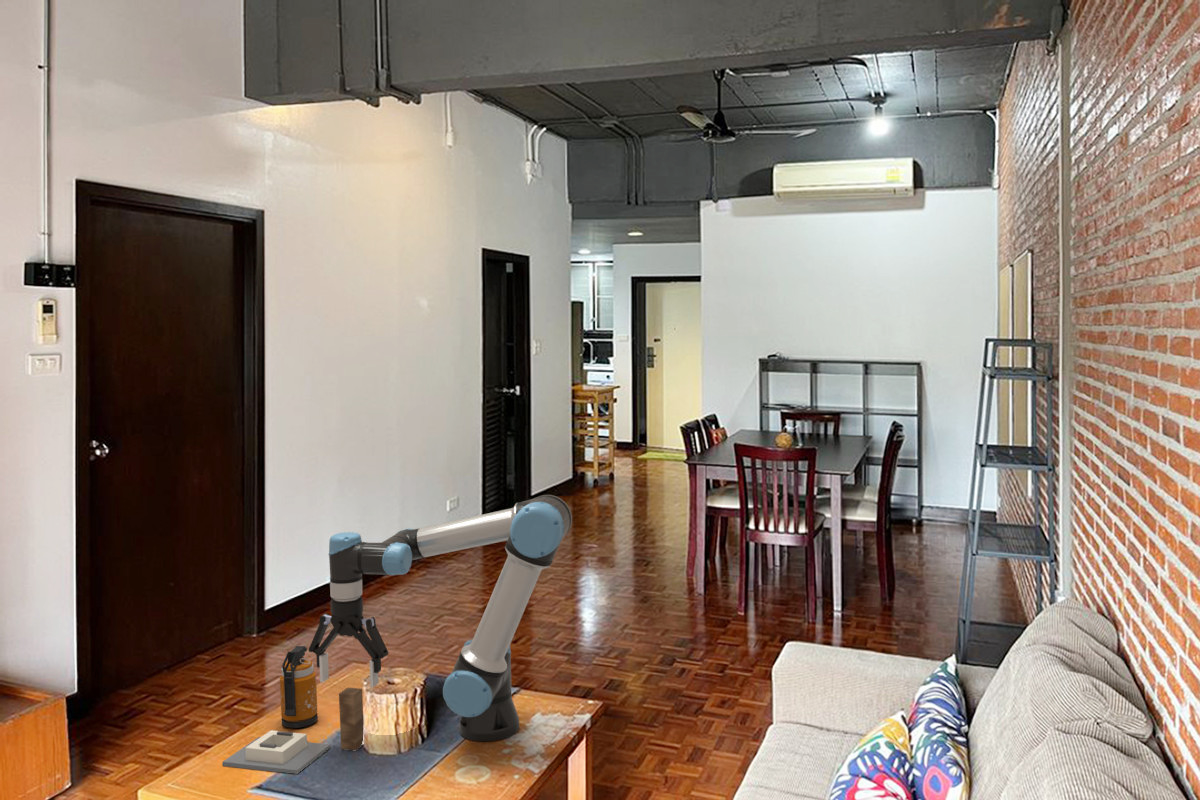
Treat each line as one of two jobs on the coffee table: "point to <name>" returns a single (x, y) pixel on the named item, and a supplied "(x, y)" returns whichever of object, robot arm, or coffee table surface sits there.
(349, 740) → the wooden block
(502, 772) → the coffee table surface
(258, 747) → the grey plate
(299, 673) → the canister
